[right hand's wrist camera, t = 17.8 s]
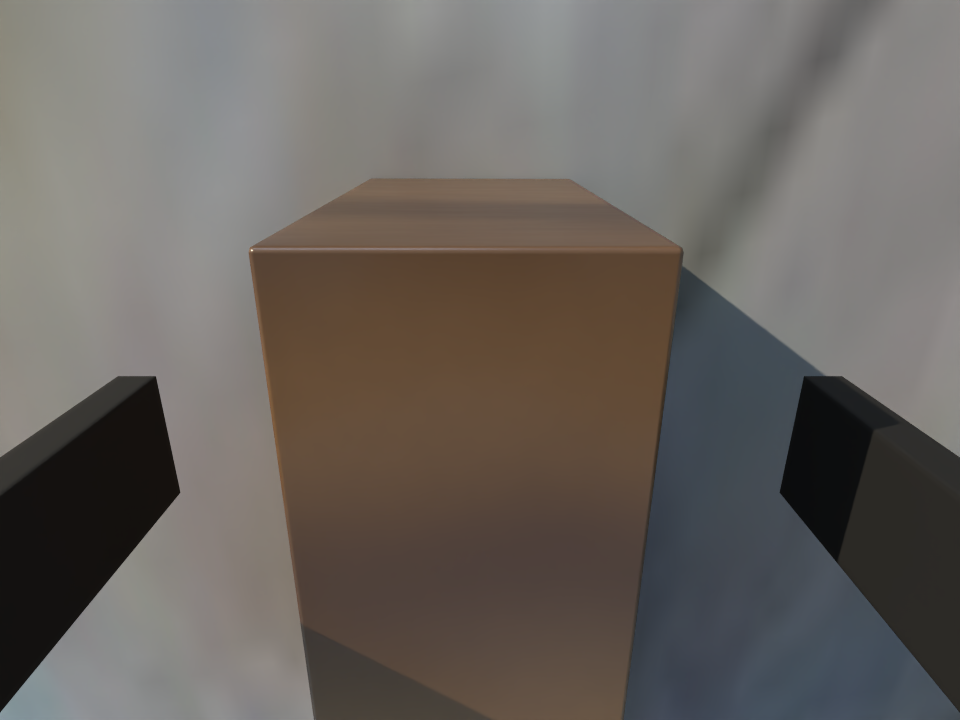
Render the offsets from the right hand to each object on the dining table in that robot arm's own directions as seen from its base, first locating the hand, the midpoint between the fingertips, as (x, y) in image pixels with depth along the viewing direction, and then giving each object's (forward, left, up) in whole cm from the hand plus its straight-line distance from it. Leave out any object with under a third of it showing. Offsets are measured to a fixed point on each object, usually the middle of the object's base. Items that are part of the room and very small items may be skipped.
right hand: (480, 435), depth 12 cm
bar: (+1, +9, -5) cm, 11 cm away
